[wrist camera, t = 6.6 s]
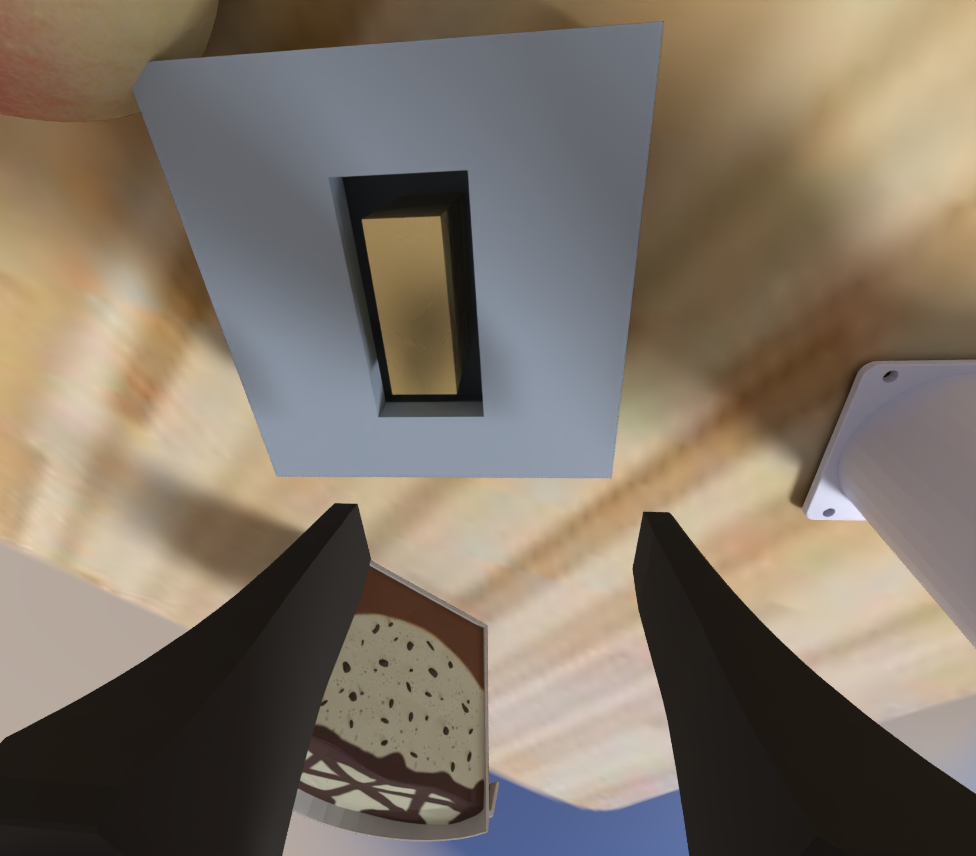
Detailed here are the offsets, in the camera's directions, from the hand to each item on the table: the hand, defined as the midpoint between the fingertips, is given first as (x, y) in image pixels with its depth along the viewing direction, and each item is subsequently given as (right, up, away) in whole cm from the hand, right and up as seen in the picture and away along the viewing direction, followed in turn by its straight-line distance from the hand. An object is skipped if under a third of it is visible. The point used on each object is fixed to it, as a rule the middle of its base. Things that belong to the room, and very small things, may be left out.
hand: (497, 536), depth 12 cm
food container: (-6, -9, +18) cm, 20 cm away
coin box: (-2, +9, +6) cm, 11 cm away
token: (-2, +9, +5) cm, 10 cm away
